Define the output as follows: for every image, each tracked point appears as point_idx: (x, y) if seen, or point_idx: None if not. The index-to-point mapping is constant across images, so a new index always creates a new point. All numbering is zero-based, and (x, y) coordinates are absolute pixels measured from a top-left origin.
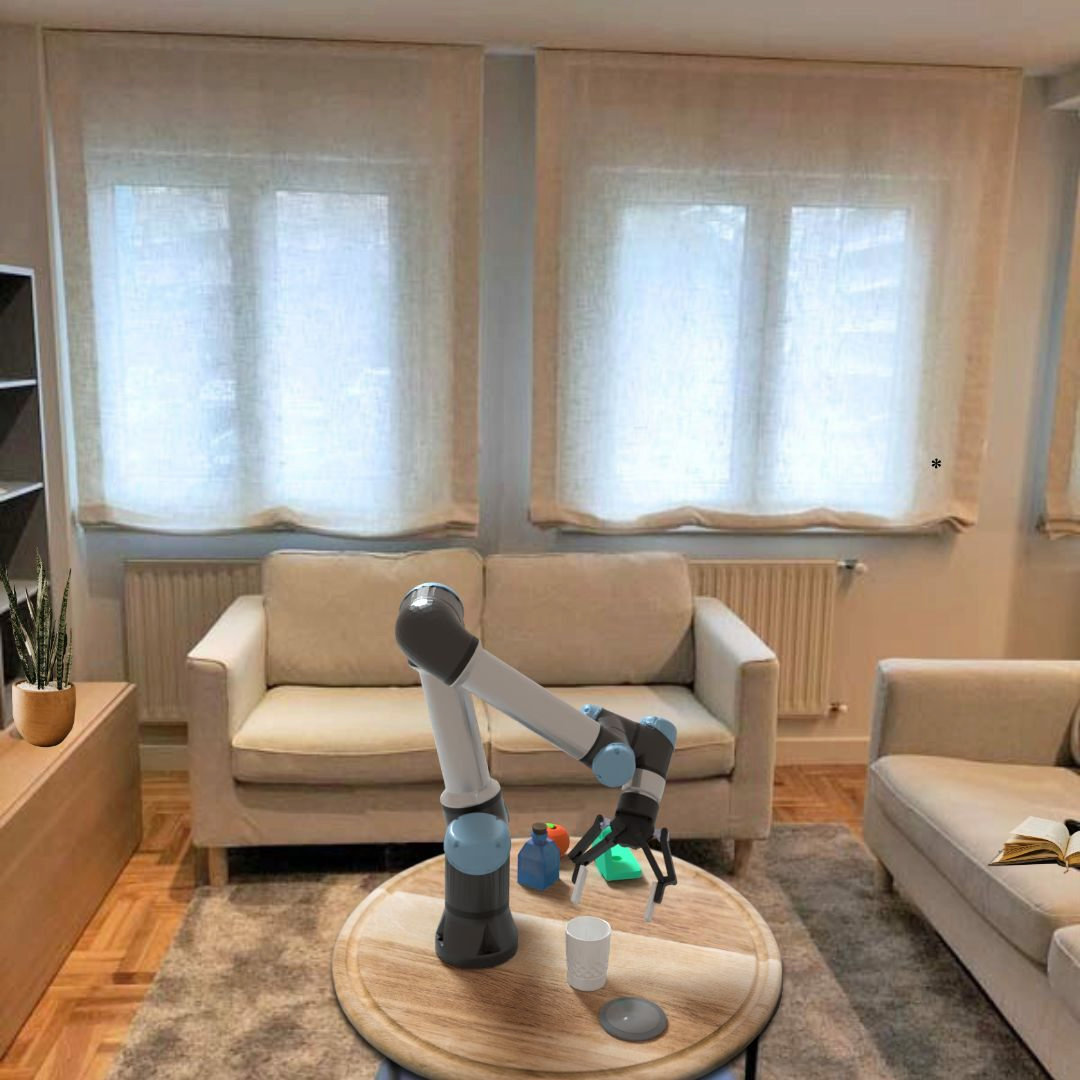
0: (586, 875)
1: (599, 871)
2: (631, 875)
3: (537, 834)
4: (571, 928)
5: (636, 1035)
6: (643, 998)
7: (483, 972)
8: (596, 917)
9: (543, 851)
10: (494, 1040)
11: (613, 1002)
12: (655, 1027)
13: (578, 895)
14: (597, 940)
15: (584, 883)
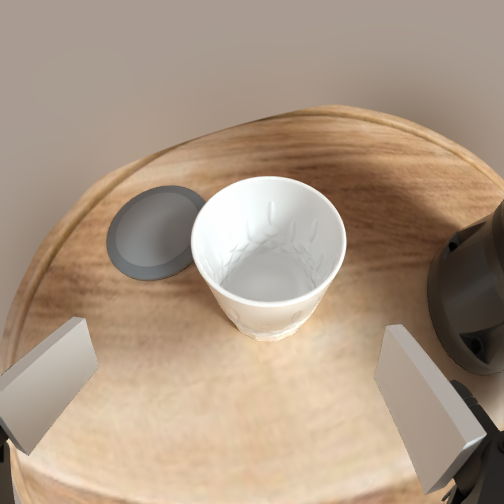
0: (418, 470)
1: None
2: None
3: None
4: (333, 261)
5: (146, 194)
6: (143, 277)
7: (434, 244)
8: (267, 303)
9: None
10: (324, 137)
11: None
12: (121, 219)
13: (392, 372)
14: (219, 191)
15: (404, 442)
